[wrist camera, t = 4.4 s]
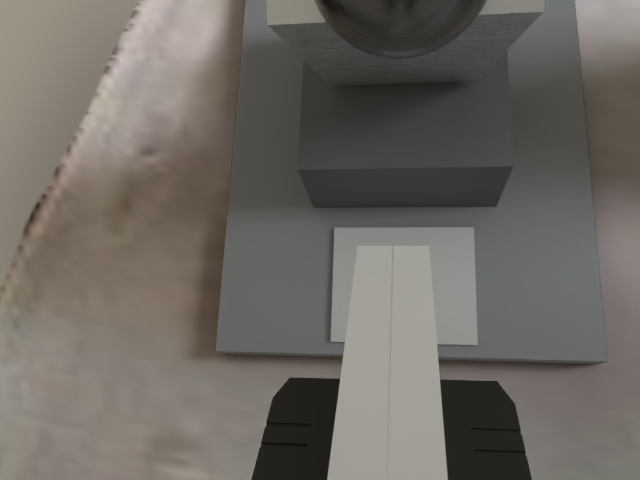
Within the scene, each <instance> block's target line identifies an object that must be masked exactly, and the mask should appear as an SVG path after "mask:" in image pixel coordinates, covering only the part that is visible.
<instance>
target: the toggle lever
mask: <svg viewBox="0 0 640 480" xmlns="http://www.w3.org/2000/svg"><path fill="white" fill-rule="evenodd" d="M543 12H544V0H267V25H268V26H269V27H270V28H271V29H272V30H273V31H274V32H275V33H276V34H277V35H278V36H279V37H280V38H281V39H282V40H283V41H284V42H285V43H286V44H288V45H289V46H290V47H291V48H292V49H293V50H294V51H295V52H296V53H297V54H298V55H299V56H300V57H301V58H302V59H303V60H304V61H305V62H306V63H307V64H308V65H309V66H310V67H311V68H312V69H314V70H315V71H316V72H317V73H318V74H319V75H320V76H321V77H322V78H323V79H324V80H325V81H326V82H327V83H328V84H329V85H330V86H341V85H370V84H400V83H429V82H459V81H478V80H479V79H480V78H481V77H482V76H483V75H484V74H485V73H486V72H487V71H488V70H489V69H490V68H491V67H492V65H493V64H494V63H495V62H496V61H497V60H498V59H499V58H500V57H501V56H502V55H503V54H504V53H505V52H506V51H507V50H508V49H509V48H510V47H511V46H512V45H513V43H514V42H515V41H516V40H517V39H518V38H519V37H520V36H521V35H522V34H523V33H524V32H525V31H526V30H527V29H528V28H529V27H530V26H531V25H532V24H533V23H534V21H535V20H536V19H537V18H538V17H539V16H540V15H541V14H542V13H543Z"/></svg>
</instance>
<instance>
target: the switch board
mask: <svg viewBox="0 0 640 480" xmlns="http://www.w3.org/2000/svg"><path fill="white" fill-rule="evenodd" d="M357 246H429V248H430V261H431V273H432V286H433V299H434V311H435V324H436V336H437V349H438V360H463V361H500V362H537V363H574V364H601V363H604V362H607V351H606V340H605V329H604V318H603V307H602V295H601V284H600V273H599V262H598V251H597V240H596V229H595V218H594V207H593V196H592V185H591V174H590V163H589V152H588V141H587V129H586V118H585V107H584V96H583V85H582V74H581V63H580V52H579V41H578V30H577V19H576V8H575V0H544V12H543V13H542V14H541V15H540V16H539V17H538V18H537V19H536V20H535V21H534V23H533V24H532V25H531V26H530V27H529V28H528V29H527V30H526V31H525V32H524V33H523V34H522V35H521V36H520V37H519V38H518V39H517V40H516V41H515V42H514V43H513V45H512V46H511V47H510V48H509V49H508V50H507V51H506V52H505V53H504V54H503V55H502V56H501V57H500V58H499V59H498V60H497V61H496V62H495V63H494V64H493V65H492V67H491V68H490V69H489V70H488V71H487V72H486V73H485V74H484V75H483V76H482V77H481V78H480V79H479V80H478V81H459V82H429V83H400V84H370V85H341V86H330V85H329V84H328V83H327V82H326V81H325V80H324V79H323V78H322V77H321V76H320V75H319V74H318V73H317V72H316V71H315V70H314V69H312V68H311V67H310V66H309V65H308V64H307V63H306V62H305V61H304V60H303V59H302V58H301V57H300V56H299V55H298V54H297V53H296V52H295V51H294V50H293V49H292V48H291V47H290V46H289V45H288V44H286V43H285V42H284V41H283V40H282V39H281V38H280V37H279V36H278V35H277V34H276V33H275V32H274V31H273V30H272V29H271V28H270V27H269V26H268V25H267V0H246V1H245V13H244V25H243V36H242V48H241V60H240V71H239V83H238V94H237V106H236V118H235V129H234V141H233V153H232V164H231V176H230V187H229V199H228V211H227V222H226V234H225V246H224V257H223V269H222V280H221V292H220V304H219V315H218V327H217V338H216V350H215V351H216V352H219V353H222V354H240V355H277V356H314V357H343V354H344V346H345V338H346V331H347V323H348V315H349V308H350V300H351V292H352V285H353V277H354V269H355V262H356V254H357Z"/></svg>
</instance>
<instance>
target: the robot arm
mask: <svg viewBox="0 0 640 480" xmlns="http://www.w3.org/2000/svg"><path fill="white" fill-rule="evenodd" d="M252 480H532V479H531V474H530V470H529V465H528V461H527V457H526V456H525V447H524V443H523V439H522V435H521V433H520V425H519V421H518V416H517V412H516V407H515V404H514V402H513V401H512V400H511V398H510V397H509V396H508V395H507V393H506V392H505V391H504V390H503V388H502V387H501V386H500V385H499V383H498V382H497V381H466V380H440V374H439V362H438V349H437V336H436V324H435V311H434V299H433V286H432V273H431V261H430V248H429V246H357V254H356V262H355V269H354V277H353V285H352V292H351V300H350V308H349V315H348V323H347V331H346V338H345V346H344V354H343V362H342V369H341V377H340V379H322V378H289V379H288V380H287V382H286V383H285V384H284V385H283V386H282V388H281V389H280V390H279V391H278V392H277V394H276V395H275V396H274V397H273V399H272V403H271V407H270V411H269V415H268V419H267V426H266V427H265V430H264V434H263V438H262V442H261V447H260V449H259V453H258V457H257V461H256V464H255V468H254V472H253V476H252Z"/></svg>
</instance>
